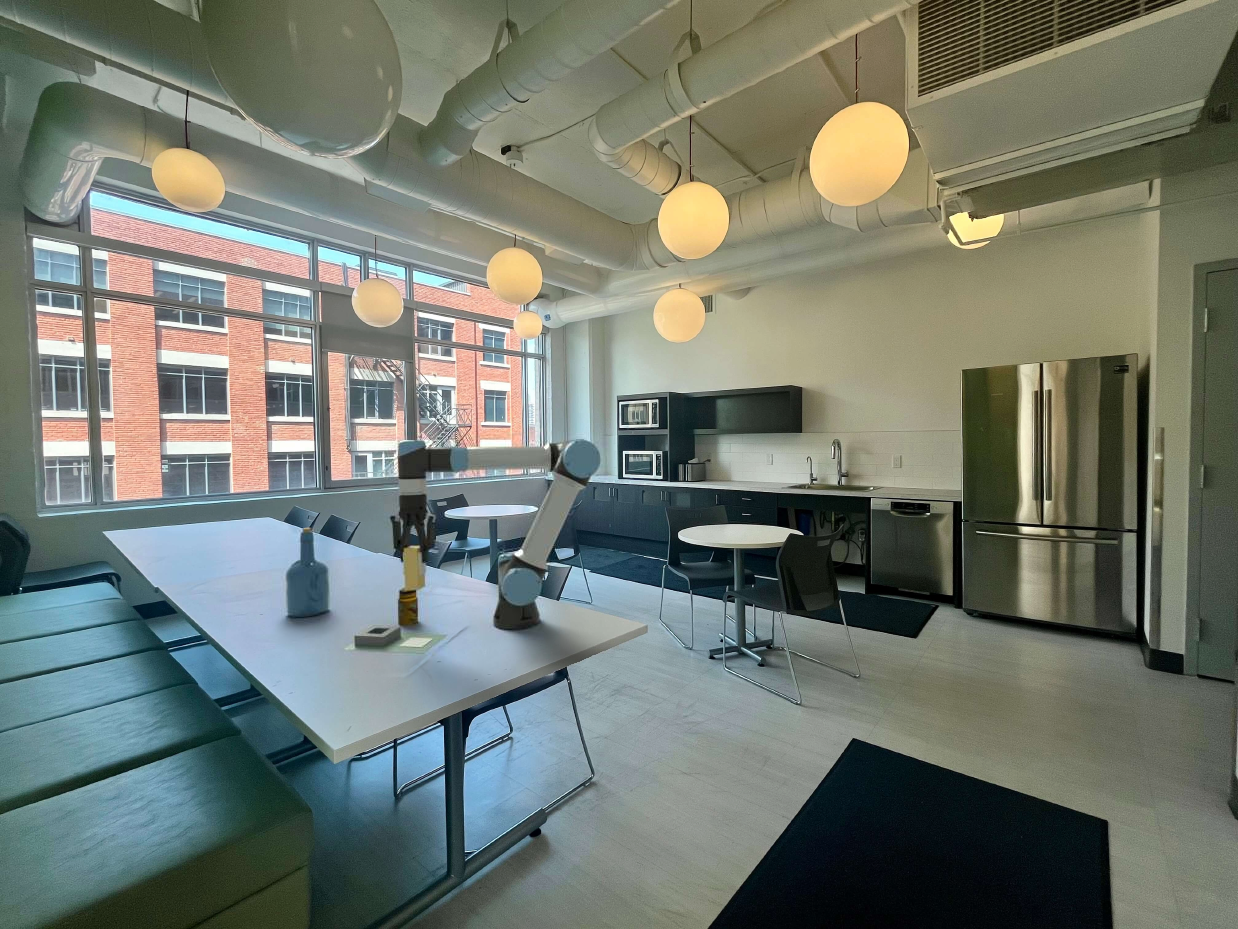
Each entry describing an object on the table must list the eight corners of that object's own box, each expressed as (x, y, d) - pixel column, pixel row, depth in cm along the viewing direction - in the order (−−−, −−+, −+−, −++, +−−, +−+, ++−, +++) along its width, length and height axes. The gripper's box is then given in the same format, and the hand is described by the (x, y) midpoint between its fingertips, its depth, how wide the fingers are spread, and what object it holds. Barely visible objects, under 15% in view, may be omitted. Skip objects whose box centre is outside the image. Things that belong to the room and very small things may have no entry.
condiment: (421, 626, 172) (420, 590, 172) (393, 631, 168) (393, 594, 167) (416, 620, 178) (415, 585, 178) (389, 625, 174) (388, 589, 173)
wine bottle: (337, 610, 190) (335, 527, 189) (298, 621, 178) (296, 532, 178) (316, 604, 197) (315, 524, 196) (278, 614, 186) (276, 529, 185)
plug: (425, 586, 156) (424, 545, 156) (418, 590, 152) (416, 548, 152) (412, 586, 157) (411, 545, 156) (405, 589, 153) (403, 548, 152)
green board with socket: (447, 638, 161) (447, 625, 161) (422, 657, 146) (422, 642, 146) (374, 634, 165) (374, 621, 165) (343, 653, 150) (342, 638, 150)
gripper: (446, 492, 156) (448, 571, 157) (392, 492, 159) (394, 570, 159) (434, 494, 149) (436, 577, 149) (377, 494, 151) (380, 576, 152)
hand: (414, 573), depth 154 cm, fingers closed on plug, 4 cm apart
